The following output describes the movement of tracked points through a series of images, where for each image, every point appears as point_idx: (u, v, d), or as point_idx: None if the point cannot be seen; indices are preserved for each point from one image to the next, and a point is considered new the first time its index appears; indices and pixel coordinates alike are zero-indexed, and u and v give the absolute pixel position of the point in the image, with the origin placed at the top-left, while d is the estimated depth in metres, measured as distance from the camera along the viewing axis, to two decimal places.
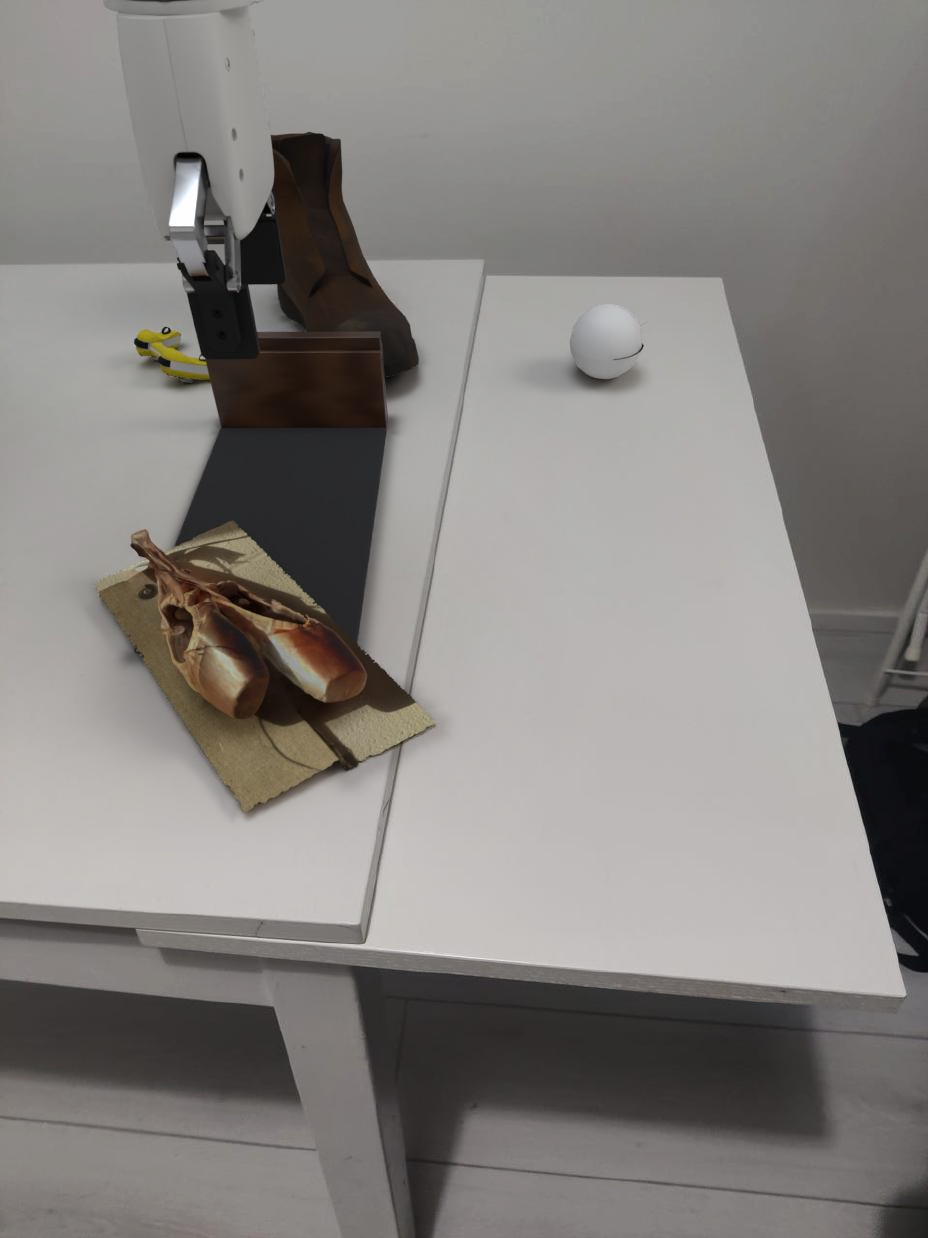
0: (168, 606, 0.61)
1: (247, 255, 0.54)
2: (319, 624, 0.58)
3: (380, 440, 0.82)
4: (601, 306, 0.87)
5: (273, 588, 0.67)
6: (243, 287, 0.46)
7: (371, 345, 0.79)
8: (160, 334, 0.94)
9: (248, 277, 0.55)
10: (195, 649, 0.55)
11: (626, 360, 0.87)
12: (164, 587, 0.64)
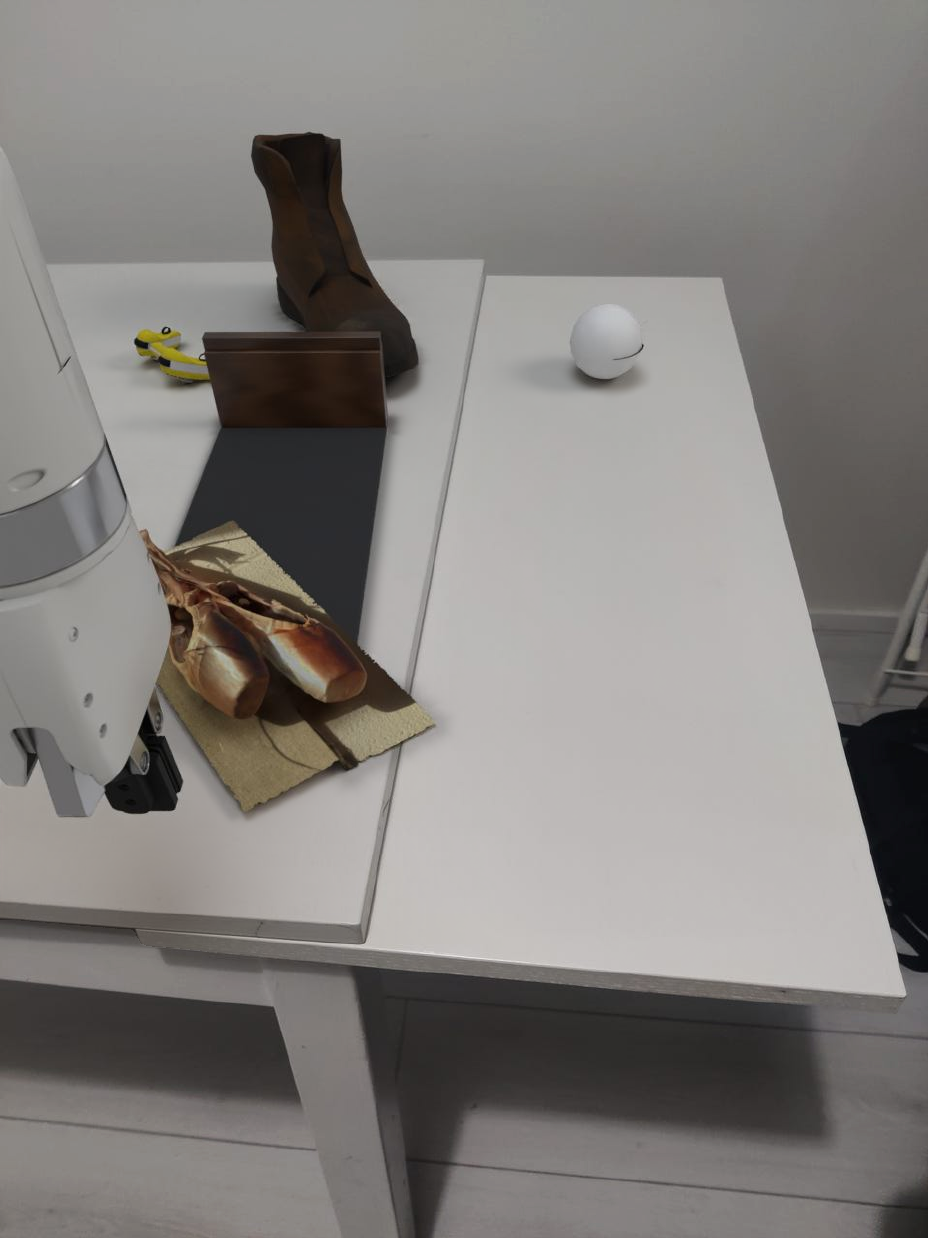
0: (168, 606, 0.61)
1: None
2: (319, 624, 0.58)
3: (380, 440, 0.82)
4: (601, 306, 0.87)
5: (273, 588, 0.67)
6: (153, 759, 0.41)
7: (371, 345, 0.79)
8: (160, 334, 0.94)
9: None
10: (195, 649, 0.55)
11: (626, 360, 0.87)
12: (164, 587, 0.64)
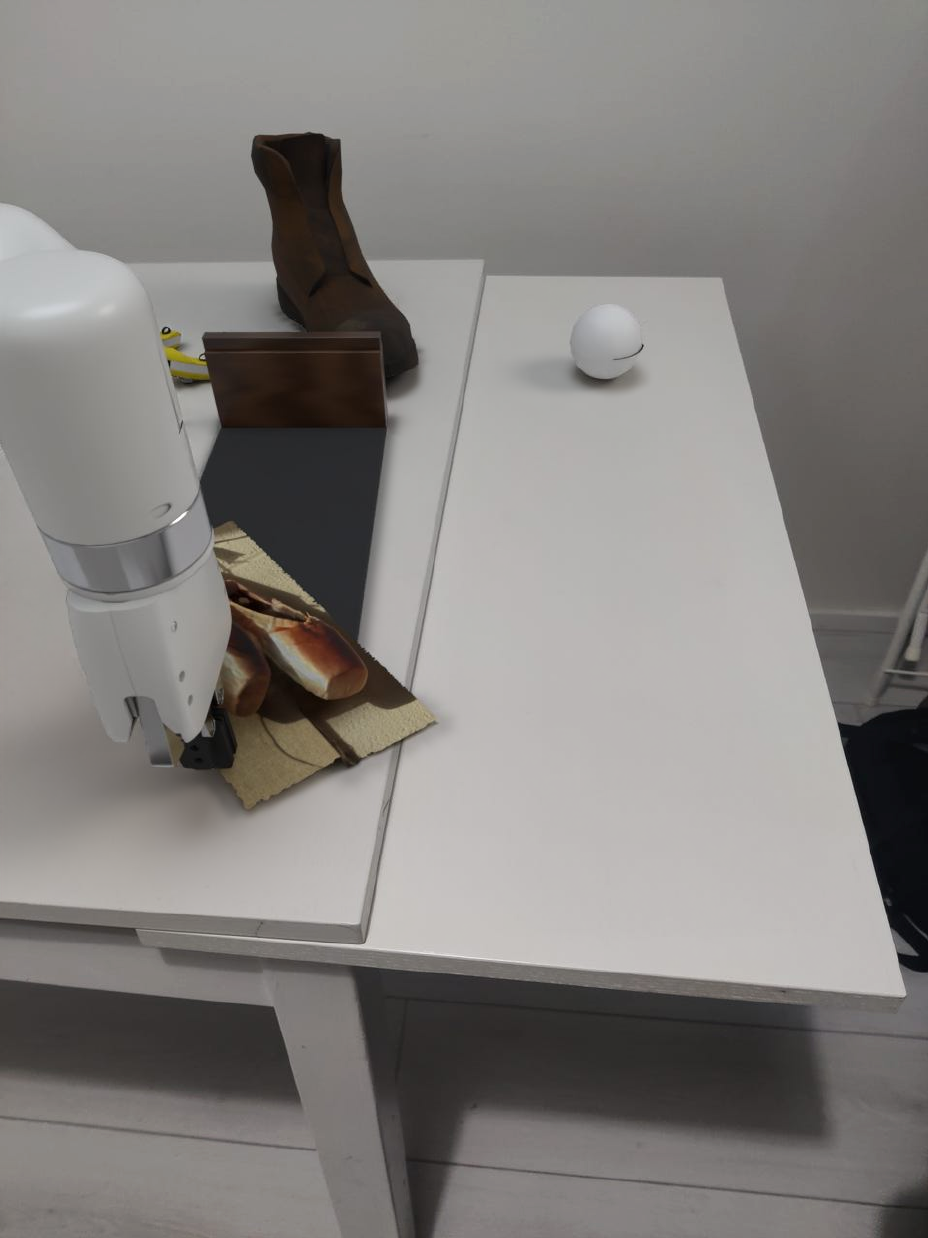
0: None
1: None
2: (320, 622, 0.58)
3: (380, 440, 0.82)
4: (601, 306, 0.87)
5: (273, 587, 0.67)
6: (217, 725, 0.52)
7: (371, 345, 0.79)
8: (160, 334, 0.94)
9: None
10: None
11: (626, 360, 0.87)
12: None
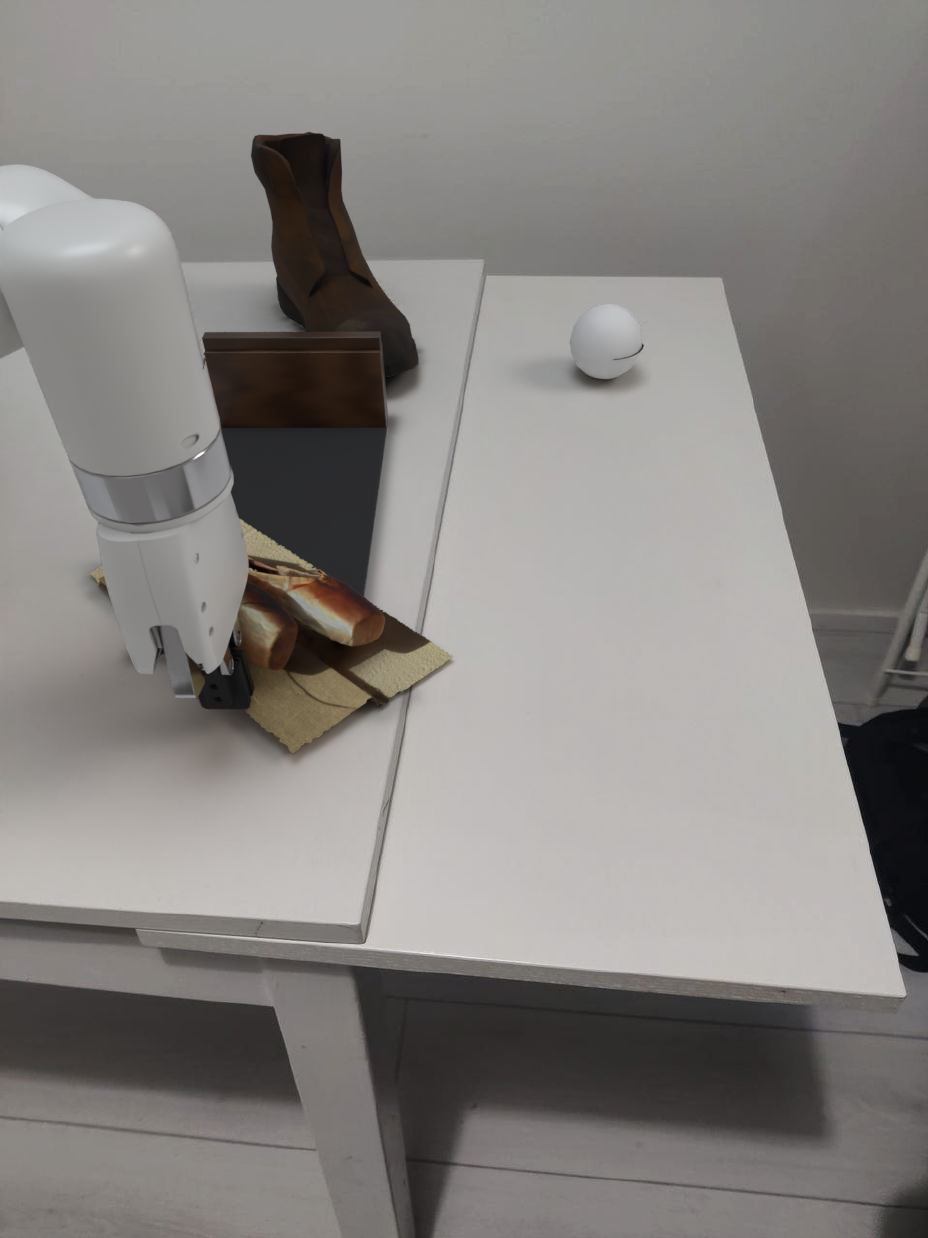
0: None
1: None
2: (332, 577, 0.62)
3: (380, 440, 0.82)
4: (601, 306, 0.87)
5: (270, 559, 0.70)
6: (236, 665, 0.54)
7: (371, 345, 0.79)
8: None
9: None
10: None
11: (626, 360, 0.87)
12: None
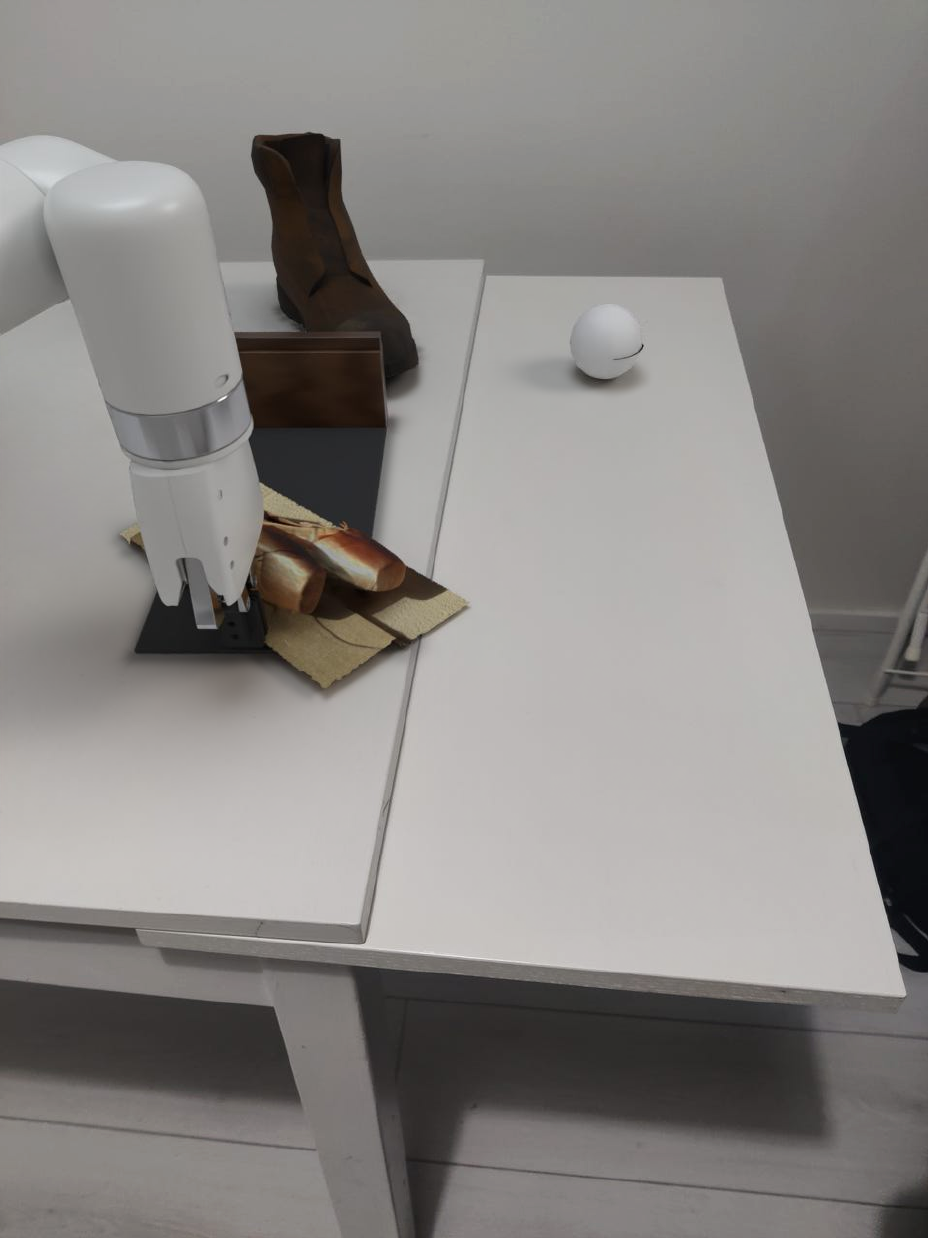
0: None
1: None
2: (355, 529, 0.65)
3: (380, 440, 0.82)
4: (601, 306, 0.87)
5: (291, 518, 0.74)
6: (252, 604, 0.59)
7: (371, 345, 0.79)
8: None
9: None
10: (254, 557, 0.61)
11: (626, 360, 0.87)
12: None
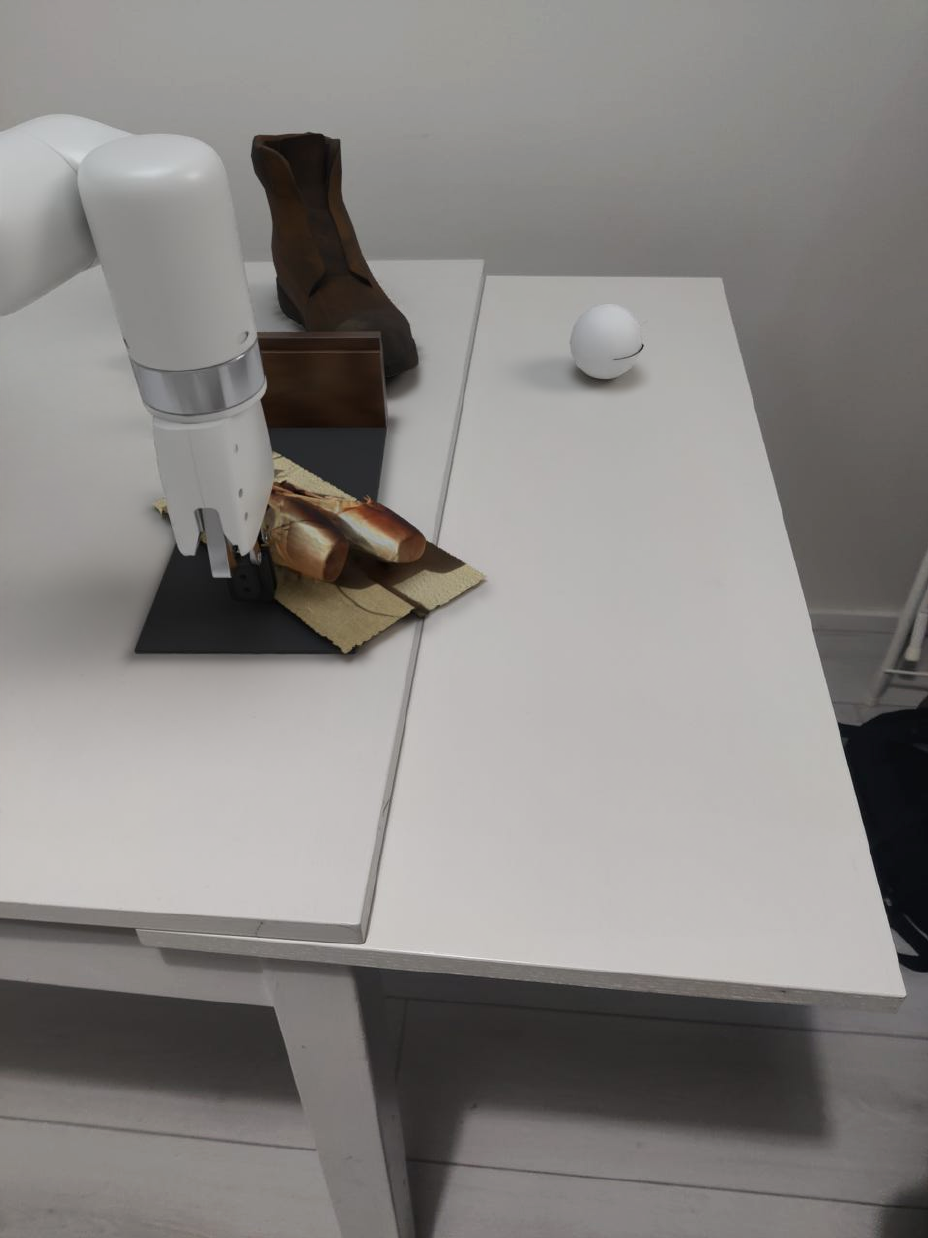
0: None
1: None
2: (378, 503, 0.68)
3: (380, 440, 0.82)
4: (601, 306, 0.87)
5: (317, 493, 0.76)
6: (263, 558, 0.62)
7: (371, 345, 0.79)
8: None
9: None
10: (281, 526, 0.64)
11: (626, 360, 0.87)
12: None
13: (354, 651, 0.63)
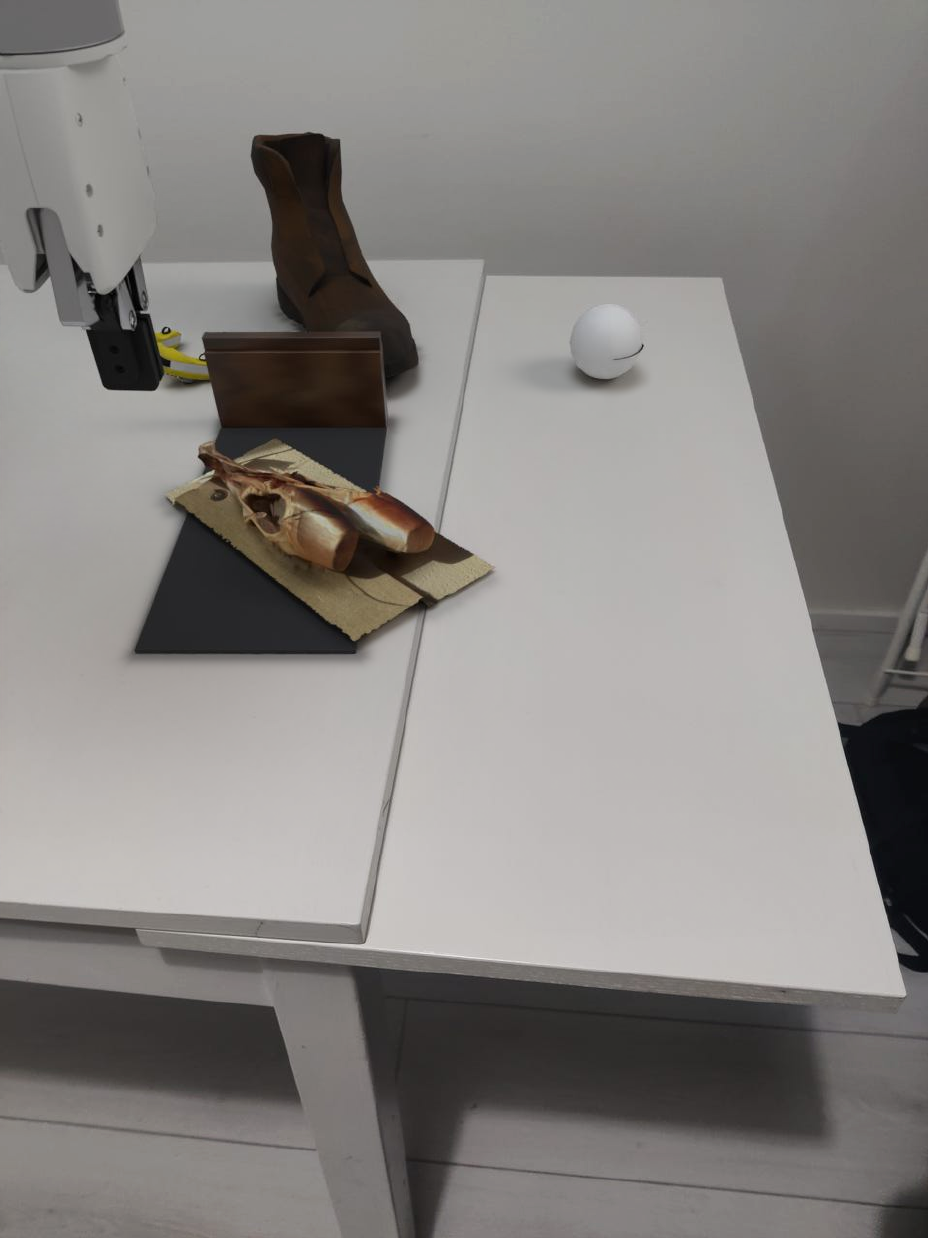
0: (249, 496, 0.70)
1: None
2: (388, 494, 0.69)
3: (380, 440, 0.82)
4: (601, 306, 0.87)
5: (327, 485, 0.77)
6: (139, 324, 0.48)
7: (371, 345, 0.79)
8: (160, 334, 0.94)
9: None
10: (291, 516, 0.65)
11: (626, 360, 0.87)
12: (238, 485, 0.73)
13: (354, 651, 0.63)
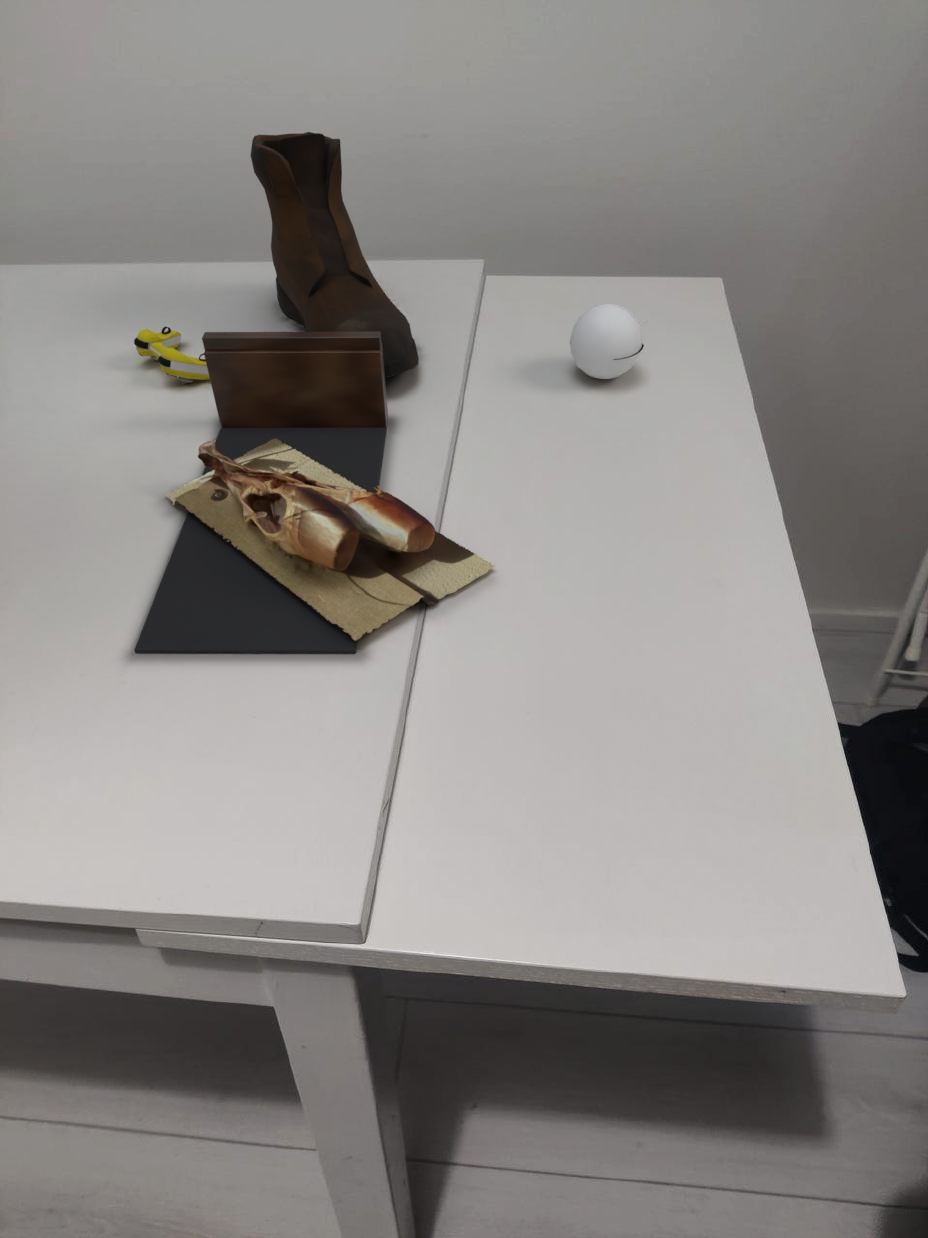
0: (249, 495, 0.71)
1: None
2: (388, 493, 0.69)
3: (380, 440, 0.82)
4: (601, 306, 0.87)
5: (327, 484, 0.77)
6: None
7: (371, 345, 0.79)
8: (160, 334, 0.94)
9: None
10: (292, 515, 0.65)
11: (626, 360, 0.87)
12: (238, 485, 0.73)
13: (354, 651, 0.63)
